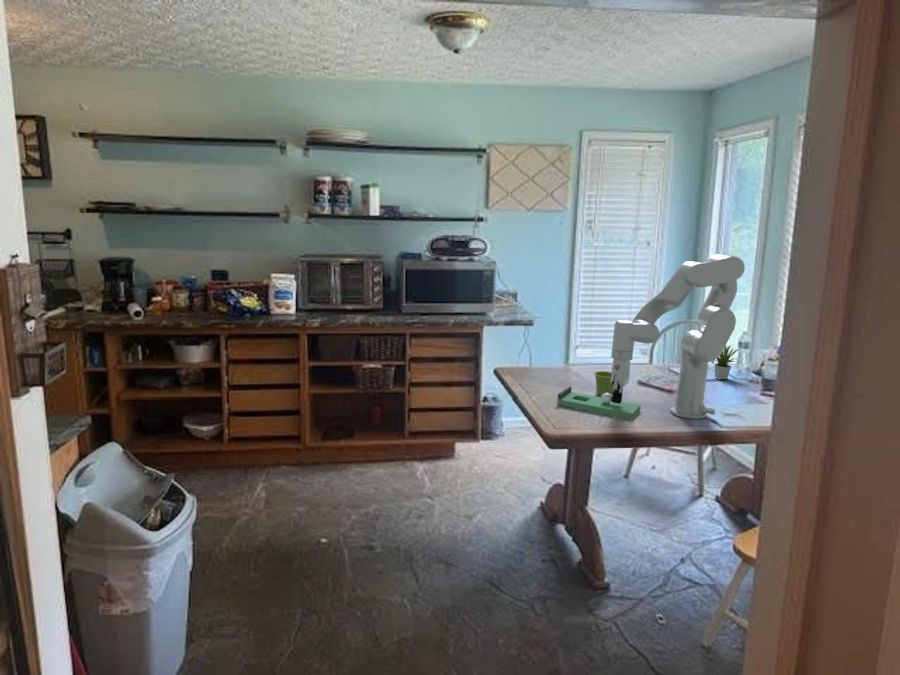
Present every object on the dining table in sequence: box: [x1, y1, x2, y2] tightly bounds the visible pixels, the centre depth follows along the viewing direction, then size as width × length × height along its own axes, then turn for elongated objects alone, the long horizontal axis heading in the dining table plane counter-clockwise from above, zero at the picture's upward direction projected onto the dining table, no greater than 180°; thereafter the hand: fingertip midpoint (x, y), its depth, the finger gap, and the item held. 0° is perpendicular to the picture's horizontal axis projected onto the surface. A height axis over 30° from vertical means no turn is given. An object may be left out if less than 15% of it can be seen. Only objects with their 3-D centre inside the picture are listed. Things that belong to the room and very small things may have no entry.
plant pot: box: [594, 370, 613, 397], centre depth 262 cm, size 9×9×9 cm
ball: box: [600, 393, 612, 404], centre depth 243 cm, size 4×4×4 cm
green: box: [556, 386, 641, 421], centre depth 244 cm, size 28×13×4 cm, turn 61°
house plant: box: [713, 345, 741, 380], centre depth 298 cm, size 14×14×16 cm
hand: (616, 402), depth 241 cm, fingers closed
